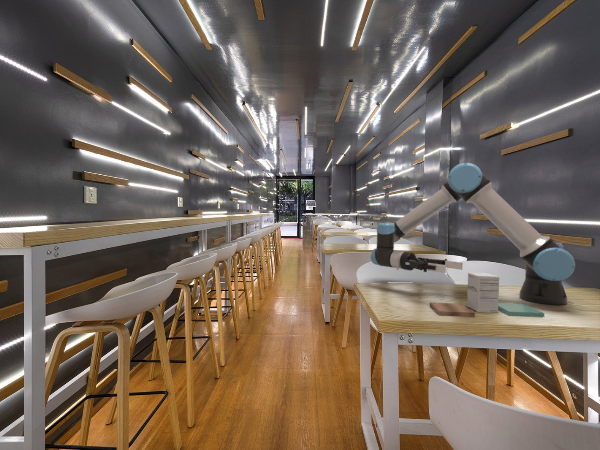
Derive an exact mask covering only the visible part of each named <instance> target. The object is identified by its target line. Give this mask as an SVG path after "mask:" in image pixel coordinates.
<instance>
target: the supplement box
mask: <svg viewBox="0 0 600 450" xmlns="http://www.w3.org/2000/svg"><path fill="white" fill-rule="evenodd" d="M499 292H500V276H498V275H495V274H492V273H489V272H471V271H470V272H467V297H466V301H467V302H466V305H467V306H466V307H467V308H469V309H471V310H472V311H473V310H474V311H475V312H477V313H491V314H492V313H494V314H495V313H499V310H498V303H499V300H500V299H499V295H500V293H499Z"/></svg>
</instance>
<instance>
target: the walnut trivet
mask: <svg viewBox="0 0 600 450" xmlns="http://www.w3.org/2000/svg"><path fill="white" fill-rule="evenodd" d="M429 307H430V308H431V310H432V311H434V312H435V313H436V314H437V315H438V316H441V317H464V318H476V313H475V312H476V311H475V312H474V311H473V309H471V308H470V307H467V306H466V305H465V304H463V303H455V302H454V303H452V302H429Z"/></svg>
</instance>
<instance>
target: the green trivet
mask: <svg viewBox="0 0 600 450" xmlns="http://www.w3.org/2000/svg"><path fill="white" fill-rule="evenodd" d="M498 312H501V313H502V314H504V315H506V316H508V317H522V318H523V317H526V318H543V317H544V318H545V312H543V311H541V310H539V309H536V308H534V307H532V306H530V305H527V304H525V303H511V302H510V303H508V302H506V303H505V302H498Z"/></svg>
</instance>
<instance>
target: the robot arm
mask: <svg viewBox="0 0 600 450" xmlns="http://www.w3.org/2000/svg"><path fill="white" fill-rule="evenodd" d="M492 186H493V182H492V181H491V180H490V179H489V177H487V176H486V175H485V174H484V173H483V172H482V170H481V168H480V167H478V166H477V165H476V164H475V163H471V162H462V163H458V164H456V165H455V166H454V167H453V168H452V169H451V170H450V171H449V173H448V176H447V180H446V182H445V183H443V184H442V185H441V188H440V189H439V190H438V191H436V192H435V193H434V194H432V195H431V196H429V197H428V198H427V199H426V200H424V201H422V202H421V203H420V204H418V205H417V206H415V208H413V209H411V211H409V212H408V213H406V214H405V215H404V216H402V217H401V218H399V219H398V220H397V221H396V222H394V223H391V222H379V223H378V224H377V227H376V248H374V249H372V251H371V254H370V260H371V262H372V264H374V265H376V266H380V267H386V268H393V269H396V270H397V271H399V270H404V271H413V270H419V271H423V273H427V271H431V272H435V273H436V272H437V273H442V274H445V273H446V271H447V270H446V269H454V270H461V271H462V270H463V262H460V261H459V262H458V261H452V260H448V258H444V259H436V258H428V257H427V258H424V257H419V256H418V257H417V255H416V254H415V253H414V252H409V251H402V250H395V249H394V248H395V243H397V242H398V241H399V240H401V239H402V238H403V237H404V236H406V235H408V234H409V233H410V232H411V231H413V230H414V229H416V228H417V227H419V226H420V225H422V224H423V223H425V222H426V221H427V220H429V219H430V218H432V217H433V216H435V215H436V214H437V213H439V212H440V211H441V210H443V209H445V208H446V207H447V206H449V205H450V204H451V203H457V202H459V201H460V200H463V201H464V202H465V203H466V204H472V205H474V206H475V208H476V209H478V210H479V211H480V212H481V213H482V214H483V215H484V216H485V217H486V219H488V220H489V221H490V222H491V223H492V224H493V226H495V227H496V228H497V229H498V230H499V231H500V232H501V233H502V234H503V235H504V236H505V237H506V238H507V239H508V240H509V241H510V242H511V243H512V244H513V245H514V246H515V247H516V248H517V249H518V250H519V257H520V258H521V259H522V260H523V261H524V263H525V279H524V281H523V283H522V286H521V288H520V291H519V298H520V299H521V300H524V301H528V302H532V303H537V304H544V305H554V306H555V305H556V306H561V305H566V304H568V297H567V293H566V290H565V288H564V285H563V280H566V279H568V278H570V277H571V276H572V275H573V273H574V271H575V269H576V262H575V258H574V256H573V255H572V253H570V252H569V251H567V250H566V249H564V245H563V243H561V242H556V241H554V239H553V238H552V237H550V236H548V235H546V236H545V235H542V234H541V233H539V232H538V231H537V230H536V228H534V227H533V225H531V224H530V223H529V222H528V221H527V220H525V218H524V217H523V216H521V214H520V213H518V212H517V211H516V210H515V209H514V208H513V206H511V205H510V204H509V203H508V202H507V201H506V200H505V199H504V198H503V197H502V196H500V194H499V193H497V191H495V190H494V189H493V188H492Z"/></svg>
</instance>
